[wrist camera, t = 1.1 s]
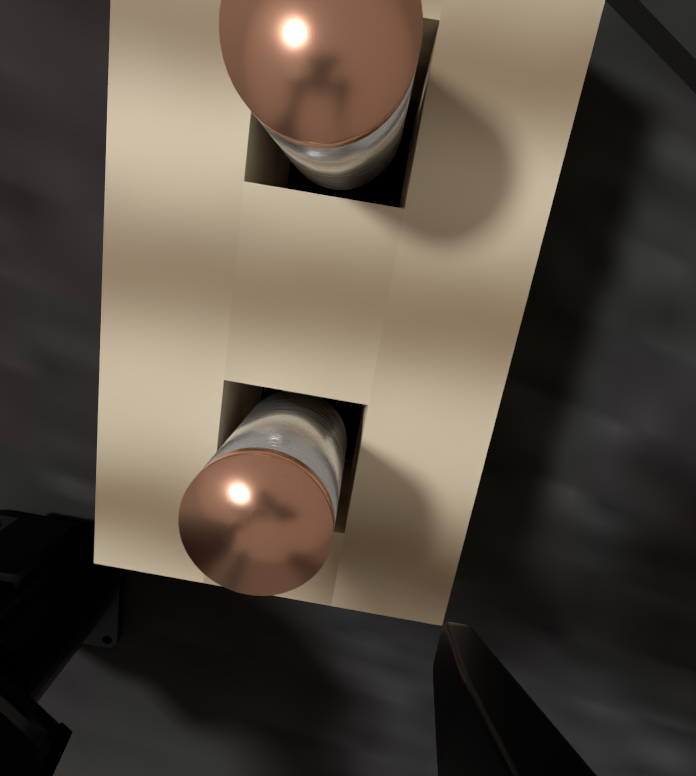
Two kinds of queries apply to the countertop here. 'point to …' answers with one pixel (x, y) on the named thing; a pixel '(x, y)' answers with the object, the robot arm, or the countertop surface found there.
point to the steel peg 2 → (268, 497)
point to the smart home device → (665, 31)
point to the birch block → (324, 285)
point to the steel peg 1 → (326, 79)
